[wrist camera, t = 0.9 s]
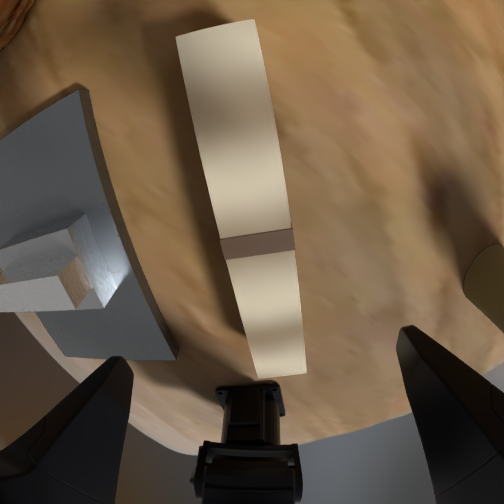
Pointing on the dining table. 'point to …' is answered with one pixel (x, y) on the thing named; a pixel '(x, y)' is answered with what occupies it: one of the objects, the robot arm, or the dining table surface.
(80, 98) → the fulcrum
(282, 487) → the robot arm
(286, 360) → the beige long bar
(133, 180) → the dining table surface
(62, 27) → the dining table surface
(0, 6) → the burger
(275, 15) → the dining table surface
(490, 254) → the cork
